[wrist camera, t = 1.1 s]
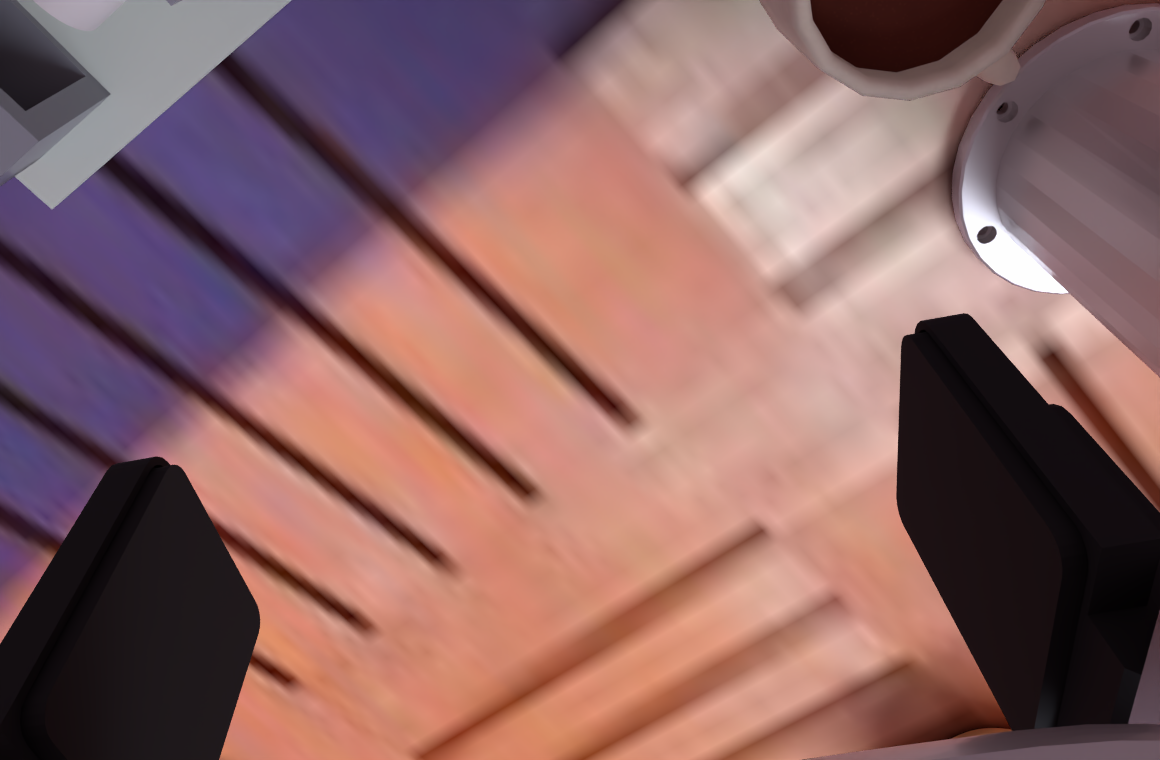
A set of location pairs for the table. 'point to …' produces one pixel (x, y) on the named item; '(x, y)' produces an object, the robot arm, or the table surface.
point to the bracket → (173, 2)
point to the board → (137, 75)
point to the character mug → (906, 41)
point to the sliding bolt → (80, 11)
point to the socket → (37, 90)
